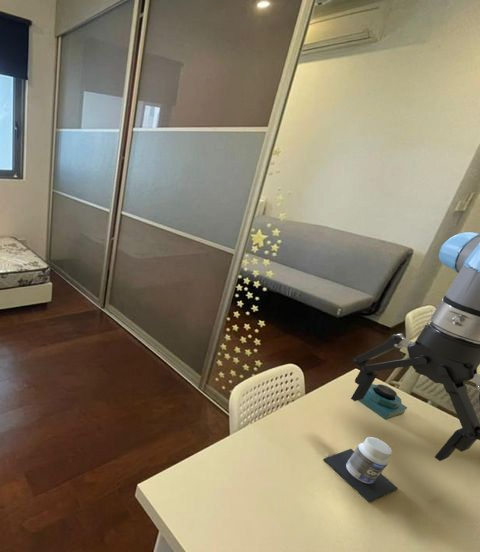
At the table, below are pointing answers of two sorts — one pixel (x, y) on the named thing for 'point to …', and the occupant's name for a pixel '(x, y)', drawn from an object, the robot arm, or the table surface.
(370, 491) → the mat
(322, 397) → the table surface
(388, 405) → the button box
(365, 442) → the pill bottle
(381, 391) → the button
